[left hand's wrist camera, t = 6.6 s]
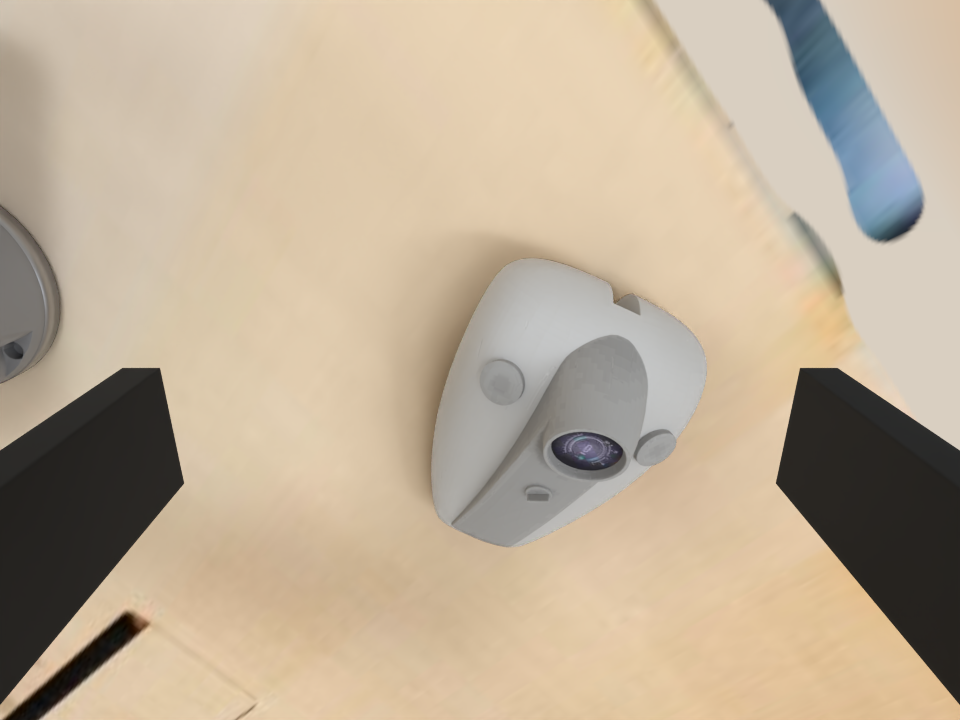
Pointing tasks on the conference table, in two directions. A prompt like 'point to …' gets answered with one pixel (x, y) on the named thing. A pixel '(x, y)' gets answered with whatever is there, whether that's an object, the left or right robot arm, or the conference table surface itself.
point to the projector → (557, 402)
